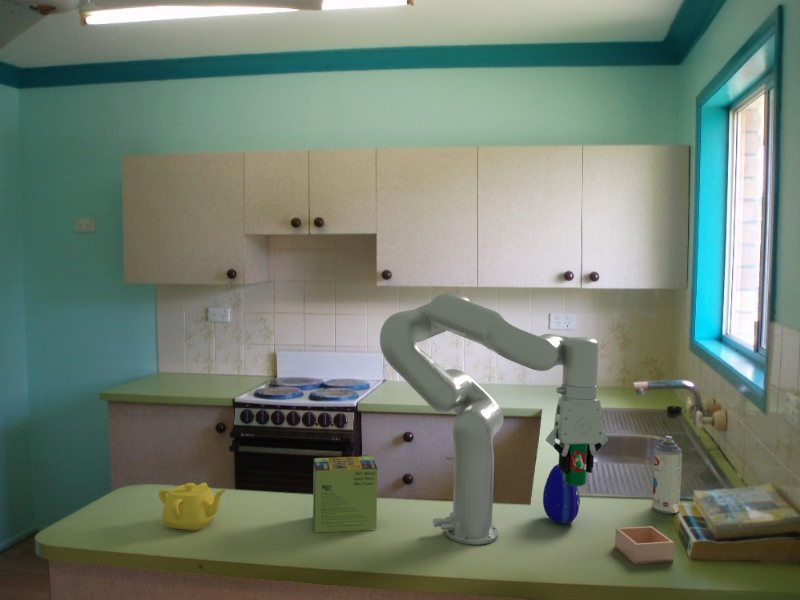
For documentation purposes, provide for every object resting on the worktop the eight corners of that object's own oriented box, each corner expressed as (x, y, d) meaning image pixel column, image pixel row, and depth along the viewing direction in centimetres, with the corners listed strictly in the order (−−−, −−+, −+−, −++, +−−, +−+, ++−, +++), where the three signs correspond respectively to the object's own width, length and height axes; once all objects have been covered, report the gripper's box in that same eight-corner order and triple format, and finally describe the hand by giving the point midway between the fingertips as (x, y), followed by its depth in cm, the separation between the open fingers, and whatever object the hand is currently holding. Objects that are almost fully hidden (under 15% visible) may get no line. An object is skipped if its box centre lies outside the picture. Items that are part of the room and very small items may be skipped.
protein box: (377, 530, 167) (378, 468, 166) (313, 533, 165) (314, 470, 163) (371, 514, 177) (373, 455, 176) (312, 516, 175) (312, 457, 174)
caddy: (635, 564, 151) (636, 544, 151) (614, 546, 160) (615, 528, 160) (673, 561, 153) (674, 542, 152) (650, 544, 162) (651, 526, 162)
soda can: (569, 478, 159) (571, 427, 158) (590, 483, 156) (592, 431, 155) (559, 483, 155) (561, 431, 154) (580, 488, 152) (582, 435, 151)
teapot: (212, 511, 177) (212, 472, 177) (227, 528, 166) (227, 487, 166) (157, 520, 171) (157, 480, 170) (168, 539, 159) (168, 496, 159)
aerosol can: (652, 503, 189) (656, 432, 188) (679, 507, 187) (682, 435, 185) (651, 511, 183) (654, 438, 182) (679, 515, 180) (682, 441, 179)
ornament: (581, 531, 169) (583, 471, 168) (543, 528, 170) (545, 469, 169) (576, 514, 180) (578, 458, 179) (541, 512, 181) (543, 456, 180)
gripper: (550, 396, 149) (546, 478, 150) (622, 395, 152) (618, 475, 153) (537, 389, 156) (534, 467, 157) (606, 388, 159) (602, 465, 160)
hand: (575, 470), depth 155 cm, fingers closed on soda can, 4 cm apart
